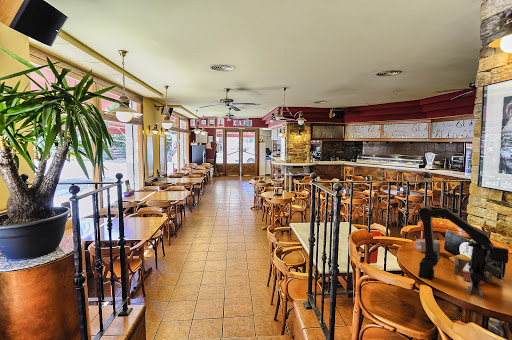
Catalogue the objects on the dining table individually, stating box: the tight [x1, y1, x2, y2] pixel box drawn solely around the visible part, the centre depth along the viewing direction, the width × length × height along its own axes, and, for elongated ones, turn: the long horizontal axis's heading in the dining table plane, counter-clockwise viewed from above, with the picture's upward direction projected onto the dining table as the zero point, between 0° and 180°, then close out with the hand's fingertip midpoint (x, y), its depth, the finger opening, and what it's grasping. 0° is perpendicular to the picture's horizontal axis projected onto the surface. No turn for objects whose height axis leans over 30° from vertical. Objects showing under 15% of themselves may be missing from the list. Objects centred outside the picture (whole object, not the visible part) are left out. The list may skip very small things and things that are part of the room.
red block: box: [462, 270, 484, 293], centre depth 136 cm, size 8×14×8 cm, turn 144°
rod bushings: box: [467, 285, 483, 299], centre depth 131 cm, size 5×6×2 cm
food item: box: [414, 237, 441, 255], centre depth 178 cm, size 14×8×10 cm, turn 85°
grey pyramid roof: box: [461, 263, 485, 273], centre depth 145 cm, size 8×9×10 cm
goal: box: [453, 256, 494, 284], centre depth 149 cm, size 16×12×6 cm
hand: (475, 286), depth 132 cm, fingers open, 3 cm apart
